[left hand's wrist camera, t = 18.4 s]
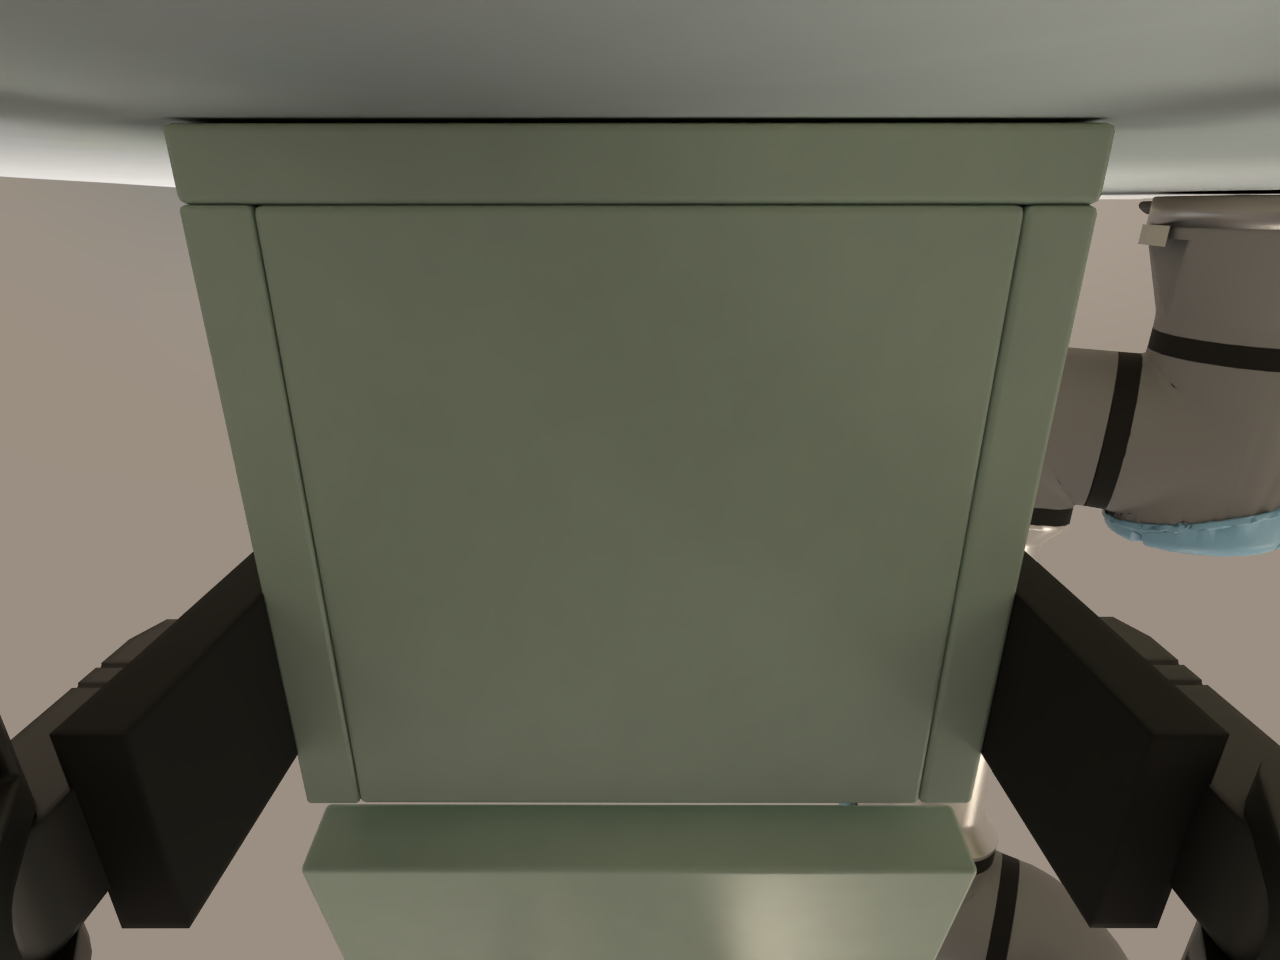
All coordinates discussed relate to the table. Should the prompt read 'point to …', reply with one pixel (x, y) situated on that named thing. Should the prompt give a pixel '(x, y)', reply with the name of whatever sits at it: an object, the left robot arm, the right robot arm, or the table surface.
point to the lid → (639, 881)
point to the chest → (639, 442)
